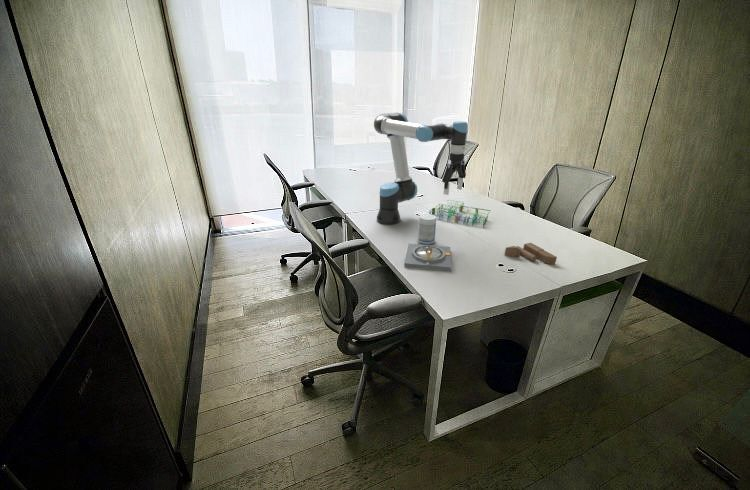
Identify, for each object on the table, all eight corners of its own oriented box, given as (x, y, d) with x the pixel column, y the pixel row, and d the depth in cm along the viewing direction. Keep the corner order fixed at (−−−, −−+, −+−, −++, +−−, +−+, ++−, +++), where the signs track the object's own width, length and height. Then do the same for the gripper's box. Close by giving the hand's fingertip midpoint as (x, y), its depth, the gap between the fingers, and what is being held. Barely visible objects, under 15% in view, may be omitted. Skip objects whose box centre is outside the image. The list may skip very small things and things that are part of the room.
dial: (417, 248, 172) (417, 238, 170) (440, 249, 170) (441, 240, 168) (415, 261, 159) (415, 251, 157) (440, 264, 157) (441, 253, 155)
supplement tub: (437, 244, 182) (439, 219, 175) (420, 245, 180) (422, 220, 173) (430, 236, 190) (432, 212, 184) (414, 238, 188) (416, 214, 182)
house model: (428, 218, 218) (429, 211, 216) (442, 205, 241) (442, 198, 239) (482, 228, 203) (483, 221, 201) (491, 213, 226) (492, 206, 224)
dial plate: (404, 266, 159) (404, 260, 158) (408, 246, 179) (408, 241, 177) (450, 271, 156) (451, 264, 154) (449, 250, 175) (450, 244, 174)
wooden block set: (529, 239, 175) (558, 254, 160) (527, 249, 177) (555, 264, 163) (504, 245, 169) (531, 260, 154) (502, 254, 172) (529, 271, 157)
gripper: (450, 157, 164) (446, 198, 173) (475, 150, 180) (470, 188, 189) (437, 155, 169) (434, 195, 178) (463, 148, 185) (458, 185, 194)
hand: (452, 191), depth 184 cm, fingers open, 13 cm apart
